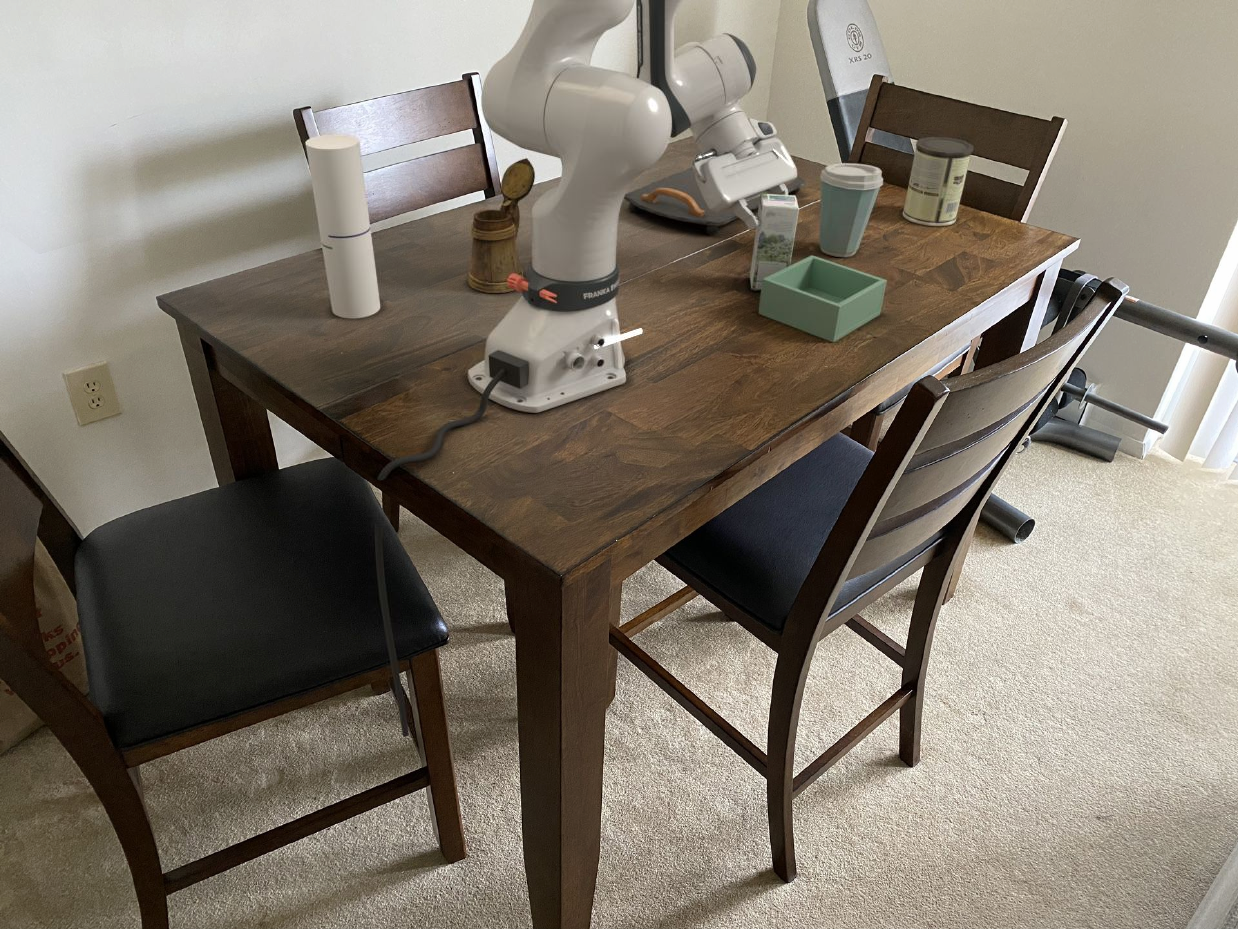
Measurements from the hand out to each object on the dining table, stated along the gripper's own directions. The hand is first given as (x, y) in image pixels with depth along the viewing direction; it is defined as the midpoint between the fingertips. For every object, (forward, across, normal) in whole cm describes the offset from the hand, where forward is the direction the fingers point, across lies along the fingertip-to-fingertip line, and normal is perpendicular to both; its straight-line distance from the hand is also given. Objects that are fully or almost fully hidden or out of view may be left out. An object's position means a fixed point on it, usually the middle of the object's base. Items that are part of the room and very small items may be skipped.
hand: (772, 220), depth 148 cm
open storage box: (+17, -3, -1) cm, 17 cm away
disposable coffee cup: (+8, +22, +8) cm, 25 cm away
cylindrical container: (-19, -53, +35) cm, 66 cm away
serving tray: (-14, +26, +29) cm, 42 cm away
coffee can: (+10, +50, +5) cm, 51 cm away
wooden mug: (-14, -29, +30) cm, 44 cm away
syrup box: (+8, 0, +7) cm, 11 cm away
